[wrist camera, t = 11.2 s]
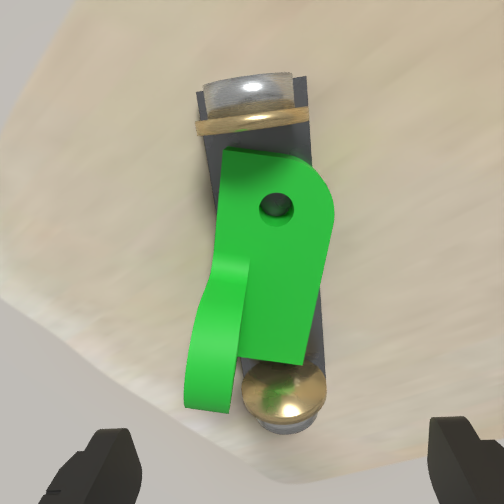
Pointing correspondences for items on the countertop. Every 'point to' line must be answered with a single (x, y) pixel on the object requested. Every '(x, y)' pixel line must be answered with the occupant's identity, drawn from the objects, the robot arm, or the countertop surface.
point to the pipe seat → (275, 204)
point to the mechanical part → (258, 272)
